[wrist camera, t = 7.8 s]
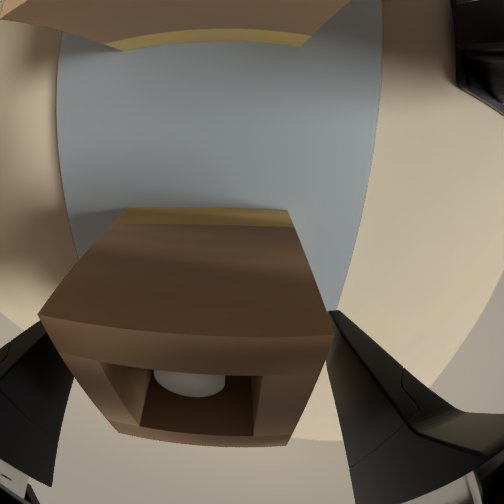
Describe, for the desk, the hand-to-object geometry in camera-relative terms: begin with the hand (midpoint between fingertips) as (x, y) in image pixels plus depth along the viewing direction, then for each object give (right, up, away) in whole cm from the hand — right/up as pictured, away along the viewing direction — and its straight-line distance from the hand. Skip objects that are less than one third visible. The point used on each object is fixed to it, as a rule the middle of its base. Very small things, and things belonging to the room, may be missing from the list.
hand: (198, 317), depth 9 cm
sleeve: (0, +1, +2) cm, 2 cm away
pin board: (0, +7, 0) cm, 7 cm away
